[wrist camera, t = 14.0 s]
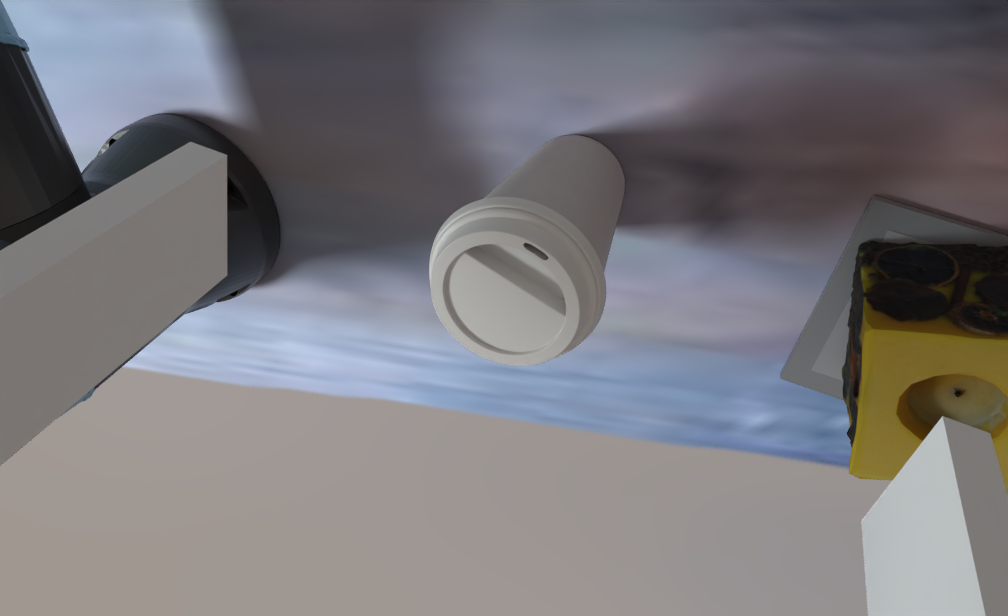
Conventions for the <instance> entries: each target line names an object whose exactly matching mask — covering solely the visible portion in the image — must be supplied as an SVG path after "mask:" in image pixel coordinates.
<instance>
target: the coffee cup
mask: <svg viewBox="0 0 1008 616" xmlns="http://www.w3.org/2000/svg"><path fill="white" fill-rule="evenodd" d="M624 193H625V178H624V174H623V170H622V168H621V165H620V163H619V162H618V160H617V159H616V157H615V156H614V155H613V153H612V152H611V151H610V150H609V149H608V148H606V147H605V146H604V145H602V144H601V143H599V142H597V141H595V140H593V139H591V138H588V137H584V136H579V135H566V136H561V137H557V138H554V139H552V140H550V141H548V142H547V143H545V144H544V145H543V146H542V147H540V148H539V149H538V150H537V151H536V152H535V153H534V154H533V155H531V156H530V157H529V158H528V159H527V160H526V161H525V162H524V163H523V164H522V165H520V166H519V167H518V168H517V169H516V170H515V171H514V172H513V173H512V174H510V175H509V176H508V177H507V178H506V179H505V180H504V181H503V182H502V183H500V184H499V185H498V186H497V187H496V188H495V189H494V190H493V191H491V192H490V193H489V194H488V195H487V196H486V197H485V198H484V199H481V200H477V201H474V202H472V203H469V204H467V205H465V206H463V207H462V208H460V209H458V210H457V211H456V212H454V213H453V214H452V215H451V216H450V217H449V218H448V219H447V220H446V221H445V222H444V224H443V225H442V226H441V228H440V229H439V231H438V233H437V235H436V238H435V240H434V243H433V246H432V250H431V254H430V261H429V279H430V289H431V297H432V301H433V304H434V307H435V310H436V312H437V314H438V316H439V318H440V320H441V322H442V323H443V325H444V326H445V328H446V329H447V330H448V331H449V333H450V334H451V335H452V336H453V337H454V338H455V339H456V340H457V341H458V342H459V343H460V344H462V345H463V346H464V347H466V348H467V349H468V350H470V351H471V352H473V353H475V354H477V355H478V356H480V357H483V358H485V359H487V360H490V361H493V362H496V363H500V364H504V365H511V366H529V365H535V364H539V363H543V362H546V361H548V360H550V359H553V358H556V357H558V356H560V355H563V354H565V353H566V352H568V351H570V350H572V349H573V348H575V347H576V346H578V345H579V344H580V343H581V342H582V341H583V340H585V339H586V338H587V337H588V336H589V335H590V333H591V332H592V331H593V330H594V328H595V327H596V325H597V324H598V322H599V320H600V318H601V316H602V313H603V310H604V306H605V301H606V281H605V276H604V270H605V266H606V262H607V258H608V255H609V251H610V247H611V243H612V239H613V236H614V232H615V228H616V224H617V220H618V217H619V213H620V209H621V205H622V202H623V198H624Z"/></svg>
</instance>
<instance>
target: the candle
mask: <svg viewBox="0 0 1008 616" xmlns="http://www.w3.org/2000/svg"><path fill="white" fill-rule="evenodd" d="M855 260H856V264H855V272H854V273H853V284H852V287H853V291H852V293H851V298H852V299H851V303H852V304H851V308H850V310H849V311H850V312H849V314H850V315H849V319H848V324H847V325H848V327H849V336H848V343H847V350H846V359H845V364H844V366H843V368H842V378H843V381H844V382H843V399H844V401H845V403H846V405H847V410H848V415H849V421H850V428H849V430H848V432H847V435H848V437H849V438H850V440H851V442H850V443H851V447H852V452H851V457H850V462H849V474H852V475H854V476H856V477H858V478H860V479H877V480H893V479H894V478H895V477H896V475H897V474H898V473H899V471H900V470H901V469H902V468H903V466H904V465H905V464H906V462H907V461H908V460H909V459H910V457H911V456H912V455H913V453H914V452H915V451H916V450H917V448H918V447H919V446H920V444H921V443H922V442H923V441H924V439H925V438H926V437H927V435H928V434H929V433H930V432H931V430H932V429H933V428H934V426H935V425H936V424H937V423H938V421H939V420H940V419H941V417H942V416H944V417H947V418H950V419H952V420H955V421H958V422H961V423H963V424H966V425H969V426H972V427H974V428H977V429H980V430H982V431H985V432H988V433H990V434H991V438H992V441H993V445H994V448H995V452H996V455H997V459H998V462H999V466H1000V469H1001V473H1002V476H1003V480H1004V483H1005V487H1006V491H1007V494H1008V246H1002V247H991V246H981V247H978V246H977V245H976V244H955V245H940V244H918V243H915V242H911V243H906V244H897V243H888V242H886V243H880V242H875V241H866V242H863V243H861V244H860V245H859V247H858V253H857V256H856V258H855Z"/></svg>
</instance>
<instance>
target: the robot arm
mask: <svg viewBox="0 0 1008 616" xmlns="http://www.w3.org/2000/svg"><path fill="white" fill-rule="evenodd" d="M28 51H29V47H28V45H27V43H26V42H25V40H23V39H21V38H19V36H18V34H17V32H16V30H15V28H14V26H13V24H12V22H11V20H10V18H9V16H8V14H7V12H6V10H5V8H4V6H3V4H2V2H1V0H0V466H1V465H2V464H3V463H4V462H6V461H7V460H8V459H9V458H10V457H11V456H13V455H14V454H15V453H16V452H17V451H19V450H20V449H21V448H22V447H23V446H24V445H26V444H27V443H28V442H29V441H31V440H32V439H33V438H34V437H35V436H36V435H38V434H39V433H40V432H41V431H42V430H44V429H45V428H46V427H47V426H48V425H50V424H51V423H52V422H53V421H54V420H55V419H57V418H58V417H60V416H61V415H63V414H64V413H66V412H67V411H68V410H70V409H71V408H72V407H74V406H76V405H77V404H78V403H80V402H82V401H85V400H87V399H88V398H90V397H91V396H92V394H93V392H94V391H95V389H96V388H98V387H99V386H100V385H101V384H102V383H103V382H105V381H106V380H107V379H108V378H109V377H111V375H113V374H114V373H115V372H116V371H117V370H119V369H120V368H121V367H122V366H123V365H125V364H126V363H127V362H128V361H129V360H131V359H132V358H133V357H134V356H135V355H136V354H138V353H139V352H140V351H141V350H142V349H143V348H145V347H146V346H147V345H148V344H149V343H151V342H152V341H153V340H154V339H155V338H156V337H158V336H159V335H160V334H161V333H162V332H163V331H165V330H166V329H167V328H168V327H169V326H170V325H172V324H173V323H174V322H175V321H177V320H178V319H179V318H180V317H181V316H183V315H184V314H187V313H190V312H193V311H196V310H199V309H202V308H205V307H207V306H210V305H212V304H214V303H215V302H222V301H226V300H229V299H232V298H235V297H237V296H239V295H241V294H243V293H245V292H246V291H247V290H249V289H250V288H251V287H252V286H254V285H255V284H256V283H257V282H258V281H259V280H260V279H261V278H263V277H264V276H265V275H266V274H267V273H268V272H269V270H270V269H271V267H272V266H273V264H274V262H275V260H276V257H277V254H278V250H279V244H280V227H279V220H278V215H277V211H276V208H275V205H274V202H273V199H272V197H271V195H270V192H269V190H268V188H267V186H266V184H265V183H264V181H263V179H262V178H261V176H260V175H259V173H258V172H257V170H256V169H255V167H254V166H253V165H252V163H251V162H250V161H249V160H248V159H247V158H246V156H245V155H244V154H243V153H242V152H241V151H240V150H239V149H238V148H237V147H236V146H235V145H233V144H232V143H231V142H230V141H229V140H227V139H226V138H225V137H224V136H222V135H221V134H219V133H218V132H216V131H215V130H213V129H211V128H210V127H208V126H206V125H204V124H202V123H200V122H197V121H195V120H192V119H189V118H186V117H182V116H177V115H169V114H160V115H152V116H148V117H145V118H142V119H140V120H138V121H136V122H134V123H132V124H130V125H128V126H126V127H124V128H122V129H121V130H119V131H118V132H116V133H115V134H114V135H112V136H111V137H110V138H109V139H108V140H107V141H106V143H105V144H104V145H103V147H102V148H101V149H100V151H99V153H98V155H97V157H96V158H95V159H94V160H92V161H91V162H90V163H89V165H88V166H87V167H86V168H85V169H84V170H83V172H82V173H81V172H80V170H79V167H78V165H77V163H76V161H75V159H74V156H73V154H72V152H71V150H70V147H69V145H68V143H67V141H66V138H65V136H64V134H63V132H62V130H61V127H60V125H59V123H58V121H57V118H56V116H55V114H54V112H53V109H52V107H51V105H50V103H49V100H48V98H47V96H46V94H45V92H44V89H43V87H42V85H41V83H40V80H39V78H38V76H37V74H36V71H35V69H34V67H33V65H32V63H31V60H30V58H29V56H28V54H27V52H28ZM861 524H862V537H863V552H864V565H865V579H866V592H867V606H868V616H1008V494H1007V491H1006V487H1005V483H1004V480H1003V476H1002V473H1001V469H1000V466H999V462H998V459H997V455H996V452H995V448H994V445H993V441H992V438H991V434H990V433H988V432H985V431H982V430H980V429H977V428H974V427H972V426H969V425H966V424H963V423H961V422H958V421H955V420H952V419H950V418H947V417H944V416H942V417H941V419H940V420H939V421H938V423H937V424H936V425H935V426H934V428H933V429H932V430H931V432H930V433H929V434H928V435H927V437H926V438H925V439H924V441H923V442H922V443H921V444H920V446H919V447H918V448H917V450H916V451H915V452H914V453H913V455H912V456H911V457H910V459H909V460H908V461H907V462H906V464H905V465H904V466H903V468H902V469H901V470H900V471H899V473H898V474H897V475H896V477H895V478H894V479H893V481H892V482H891V483H890V484H889V486H888V487H887V488H886V490H885V491H884V492H883V493H882V495H881V496H880V497H879V499H878V500H877V501H876V503H875V504H874V505H873V506H872V508H871V509H870V510H869V511H868V513H867V514H866V515H865V517H864V518H863V519H862V520H861Z"/></svg>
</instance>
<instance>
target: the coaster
mask: <svg viewBox="0 0 1008 616" xmlns="http://www.w3.org/2000/svg"><path fill="white" fill-rule="evenodd" d="M866 241H875V242H880V243H886V242H888V243H897V244H906V243H911V242H915V243H918V244H940V245H955V244H976V245H977V246H978V247H981V246H991V247H1002V246H1008V236H1007V235H1004V234H1001V233H997V232H994V231H991V230H988V229H984V228H981V227H978V226H974V225H971V224H968V223H964V222H961V221H958V220H954V219H951V218H948V217H944V216H941V215H938V214H935V213H931V212H928V211H925V210H921V209H918V208H915V207H911V206H908V205H905V204H901V203H898V202H895V201H891V200H888V199H885V198H882V197H878V196H875V195H873V197H872V199H871V201H870V203H869V205H868V207H867V208H866V210H865V212H864V214H863V216H862V218H861V220H860V222H859V224H858V226H857V228H856V230H855V231H854V233H853V235H852V237H851V239H850V241H849V243H848V245H847V247H846V249H845V251H844V253H843V254H842V256H841V258H840V260H839V262H838V264H837V266H836V268H835V270H834V272H833V274H832V276H831V277H830V279H829V281H828V283H827V285H826V287H825V289H824V291H823V293H822V295H821V297H820V299H819V300H818V302H817V304H816V306H815V308H814V310H813V312H812V314H811V316H810V318H809V320H808V322H807V323H806V325H805V327H804V329H803V331H802V333H801V335H800V337H799V339H798V341H797V343H796V345H795V346H794V348H793V350H792V352H791V354H790V356H789V358H788V360H787V362H786V364H785V366H784V367H783V369H782V371H781V374H780V378H781V379H783V380H786V381H789V382H792V383H795V384H798V385H801V386H804V387H807V388H810V389H812V390H815V391H818V392H821V393H824V394H827V395H830V396H833V397H836V398H839V399H842V400H844V399H843V382H844V381H843V378H842V368H843V366H844V364H845V359H846V350H847V343H848V336H849V327H848V325H847V324H848V319H849V315H850V314H849V312H850V311H849V310H850V308H851V304H852V303H851V299H852V298H851V293H852V291H853V287H852V284H853V273H854V272H855V264H856V260H855V258H856V256H857V253H858V247H859V245H860V244H861V243H863V242H866Z"/></svg>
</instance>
